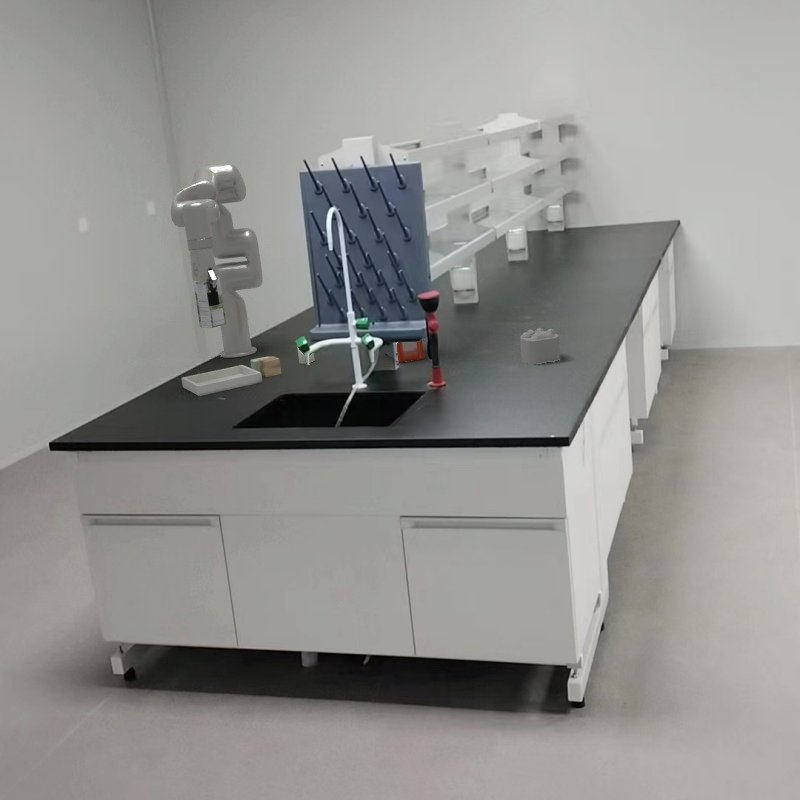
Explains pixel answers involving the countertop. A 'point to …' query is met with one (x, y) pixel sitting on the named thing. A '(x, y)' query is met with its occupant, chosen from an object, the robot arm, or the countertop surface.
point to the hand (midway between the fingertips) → (209, 303)
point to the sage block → (256, 364)
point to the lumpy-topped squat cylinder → (539, 346)
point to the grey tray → (221, 380)
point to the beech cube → (269, 366)
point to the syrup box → (206, 313)
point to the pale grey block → (302, 357)
